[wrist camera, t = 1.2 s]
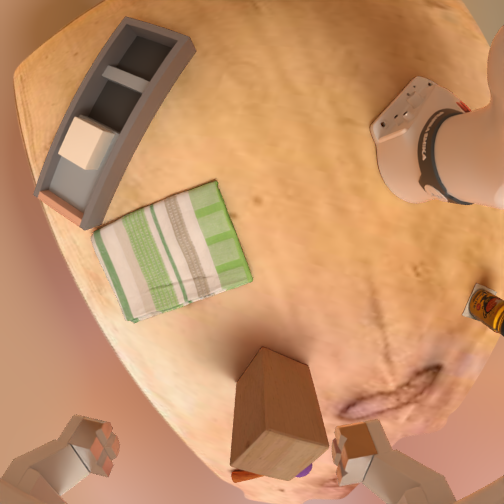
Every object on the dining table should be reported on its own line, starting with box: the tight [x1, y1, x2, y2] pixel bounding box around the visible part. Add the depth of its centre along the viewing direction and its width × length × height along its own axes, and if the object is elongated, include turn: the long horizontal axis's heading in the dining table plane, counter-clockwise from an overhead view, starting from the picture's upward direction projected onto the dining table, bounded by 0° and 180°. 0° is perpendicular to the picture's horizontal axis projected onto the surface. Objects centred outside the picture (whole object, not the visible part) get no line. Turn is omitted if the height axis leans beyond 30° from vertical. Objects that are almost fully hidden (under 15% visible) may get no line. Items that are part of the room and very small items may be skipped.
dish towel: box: [91, 181, 253, 323], centre depth 45 cm, size 17×23×4 cm
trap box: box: [34, 17, 196, 230], centre depth 38 cm, size 32×12×6 cm, turn 149°
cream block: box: [58, 117, 115, 170], centre depth 37 cm, size 6×6×4 cm
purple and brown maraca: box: [231, 463, 312, 483], centre depth 57 cm, size 6×6×20 cm
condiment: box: [462, 283, 504, 336], centre depth 43 cm, size 7×8×12 cm
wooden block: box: [230, 347, 329, 481], centre depth 42 cm, size 10×10×20 cm
